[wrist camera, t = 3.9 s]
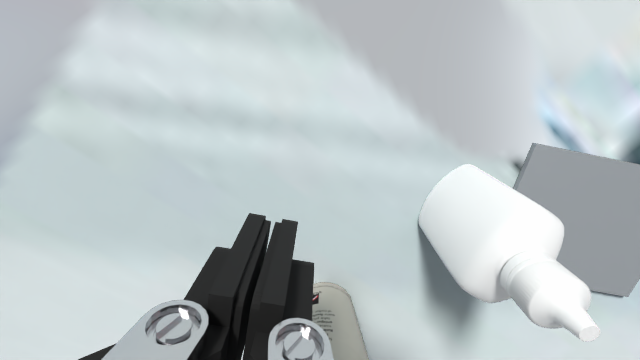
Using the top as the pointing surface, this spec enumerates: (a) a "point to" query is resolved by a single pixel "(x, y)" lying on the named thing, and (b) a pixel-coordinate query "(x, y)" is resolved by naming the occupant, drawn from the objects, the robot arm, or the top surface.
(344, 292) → the coffee cup
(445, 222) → the eye dropper bottle
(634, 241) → the mat
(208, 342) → the robot arm
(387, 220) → the top surface
